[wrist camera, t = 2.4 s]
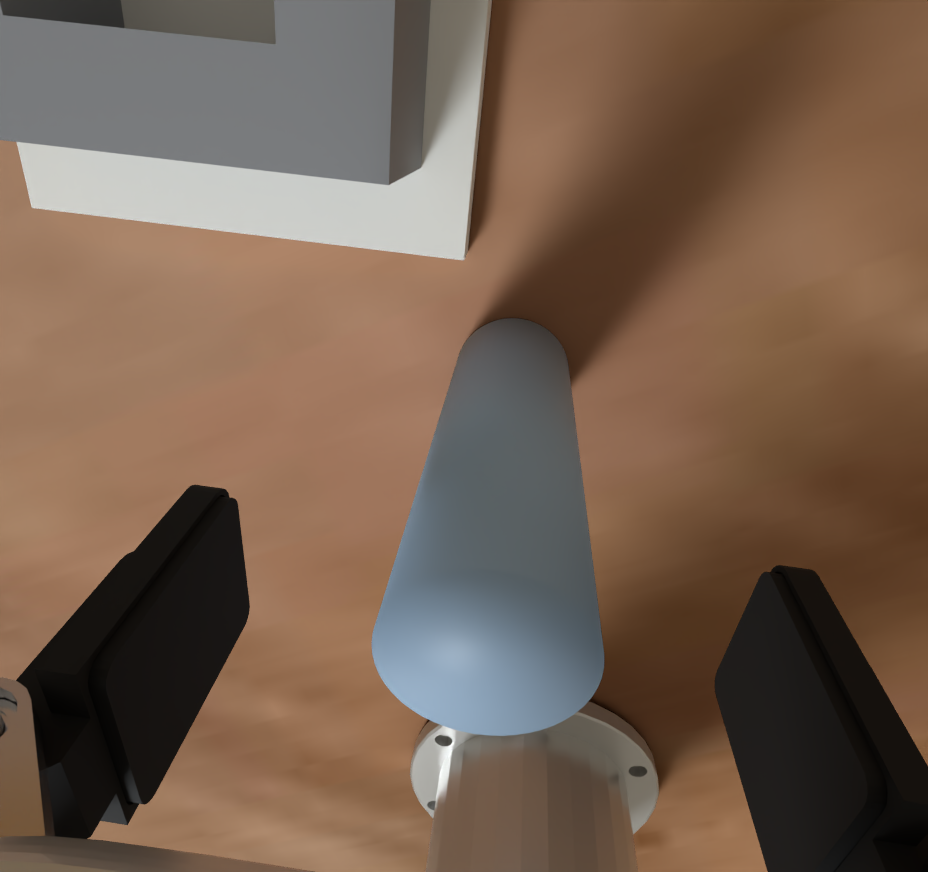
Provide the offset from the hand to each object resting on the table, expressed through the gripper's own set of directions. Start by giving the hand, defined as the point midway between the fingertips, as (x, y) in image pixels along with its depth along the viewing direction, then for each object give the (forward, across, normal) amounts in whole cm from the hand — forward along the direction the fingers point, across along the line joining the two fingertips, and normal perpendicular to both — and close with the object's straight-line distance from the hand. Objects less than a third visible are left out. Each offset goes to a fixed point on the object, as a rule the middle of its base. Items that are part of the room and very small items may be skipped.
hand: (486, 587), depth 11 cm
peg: (+12, 0, +1) cm, 12 cm away
